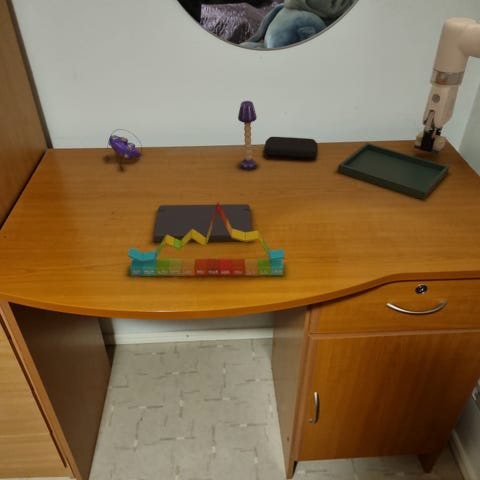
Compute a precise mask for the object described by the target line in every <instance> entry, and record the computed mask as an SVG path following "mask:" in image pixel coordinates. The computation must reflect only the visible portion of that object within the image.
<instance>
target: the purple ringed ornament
mask: <svg viewBox="0 0 480 480" xmlns="http://www.w3.org/2000/svg"><path fill="white" fill-rule="evenodd" d="M118 131H126V132H128V133H130V134H132V135H133V136H134V137H135V138H136V139H137V140H138V142H139V143H140V146H141V148H143V146H142V143H141V141H140V140H139V138H137V136H136V135H135V134H134V133H132V132H131V131H129V130H126V129H121V128H118ZM115 132H117V129H116V130H113V133H115ZM113 133H111V134H110V136H109V138H108V141H107V142H108V143H107V144H108V145H107V147H106V150H108V149H109V146H110V147H111V149H113V151H114V155H115V156H114V157H117V155H121V156H122V157H121V158H120V160H122V159H123V157H124V158H126V159H137V158H140V157H141V154H142V152H143V150H141V152H140V151H139V150H137V149H135V148H136V144H134V143H133V142H129V139H128V138H127V137H125V136H118V135H116V134H113ZM116 154H117V155H116ZM105 159H106V161H108V160H109V157H108V156H106V157H105ZM116 160H117V162H118V165H119V167H120V169H121V170H122V171H123V165H122V164H121V163H120V162H119V160H118V159H116Z"/></svg>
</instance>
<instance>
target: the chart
mask: <svg viewBox="0 0 480 480" xmlns="http://www.w3.org/2000/svg"><path fill="white" fill-rule="evenodd" d="M215 205H216V209H215V212H214V215H213V218H212V222H211V225H210V228H209V231H208V234H207V238H205V237H204V236H203V235H201V234H200V233H198V232H197V231H195V230H194V229H193V230H191V231H190V232H189V233H188V234H187V235H186V236H185V237H184V238H183V239H182V240H181V241H180V240H178V239H174V238H173V237H171V236H169V235H166V236H165V238H164V240H163V241H162V242H160V244H159V246H158V247H157V249H155V250H153V251H147V252H142V251H140V250H138V249H135V248H133V247H129V250H128V254H127V257H128V258H130V259H131V262H130V267H129V270H130V277H131V276H132V277H133V276H136V277H137V276H138V277H139V276H142V277H143V276H144V277H146V276H152V277H153V276H154V277H155V276H157V277H158V276H165V277H166V276H167V277H168V276H170V277H171V276H172V277H173V276H176V277H177V276H178V277H179V276H182V277H183V276H185V277H187V276H189V277H190V276H191V277H192V276H193V277H195V276H208V277H209V276H283V275H284V259H285V251H284V249H283V248H282V249H273V250H271V249H270V248H269V247H268V245H267V243H266V241H265V240H264V237H262V235H261V233H260V231H259V230H252V231H251V232H242V231H238V230H235V229H232V228H231V226H230V224H229V222H228V220H227V218H226V216H225V214H224V212H223V210H221V207H220V205H221V204H220V203H219V202H218V201H217V202H216V204H215ZM217 207H218V213H219V214H220V216H221V218H222V220H223V222H224V224H225V226H226V228H227V230H228V231H229V233H230V235H231V237H232V238H234V239H237V240H241V241H240V242H244V243H248V242H254V241H255V242H256V241H258V242H259V244H260V245H261V246H262V248H263V250H264V252H265V253H266V255H267V256H268V258H158V256H159V255H160V253H161V252H162V250H163V249H164V247H165V246H166V245H167V246H169V247H172V248H174V249H176V250H178V251H180V250H181V249H182V248H184V247H185V245H187V244H188V243H189V242H188V241H189V240H190V239H191V238H192V239H194V240H195V241H197V243H199V244H200V245H201V246H202V247H204V248H206V247H207V245H208V242H209V241H208V239H209V236H210V233H211V229H212V226H213V223H214V220H215V217H216V213H217Z"/></svg>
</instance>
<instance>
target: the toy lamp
mask: <svg viewBox="0 0 480 480" xmlns="http://www.w3.org/2000/svg"><path fill="white" fill-rule="evenodd" d="M257 118H258V117H257V113H256V109H255V105H254V103H253V101H251V100H244V101H242V102H241V103H240V106H239V110H238V115H237V119H238V121H239V122H241V123H243V125H244V127H243V130H244V133H243V136H244V141H243V142H244V154H245V155H244V159H243V160H241V161H240V168H241V169H242V170H246V171H251V170H254V169H256V168H257V163H256V161H255V160H254V159H253V157H252V151H253V150H252V132H251V131H252V126H251V125H252V123H253V122H255V121H256V120H257Z"/></svg>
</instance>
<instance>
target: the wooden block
mask: <svg viewBox="0 0 480 480" xmlns="http://www.w3.org/2000/svg"><path fill="white" fill-rule="evenodd" d="M423 133H424V132H423V131H420V132H419V133H418V134H417V135H416V136H415V141H414V145H413V149H415V150H419V151H421V150H420V146H421V142H422V138H423ZM434 137H435V141H434V145H433V149H432V151H431V152H430V153H431V154H435V155H439V154H441V153H442V151H443V150H444V148H445V145H446V141H447V137H446V136H444V135H443V136H442V135H440V136H439V135H435V136H434Z"/></svg>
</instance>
